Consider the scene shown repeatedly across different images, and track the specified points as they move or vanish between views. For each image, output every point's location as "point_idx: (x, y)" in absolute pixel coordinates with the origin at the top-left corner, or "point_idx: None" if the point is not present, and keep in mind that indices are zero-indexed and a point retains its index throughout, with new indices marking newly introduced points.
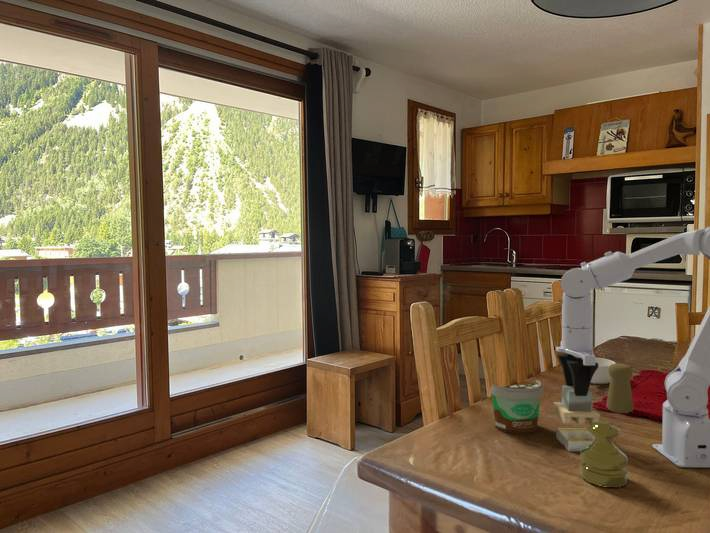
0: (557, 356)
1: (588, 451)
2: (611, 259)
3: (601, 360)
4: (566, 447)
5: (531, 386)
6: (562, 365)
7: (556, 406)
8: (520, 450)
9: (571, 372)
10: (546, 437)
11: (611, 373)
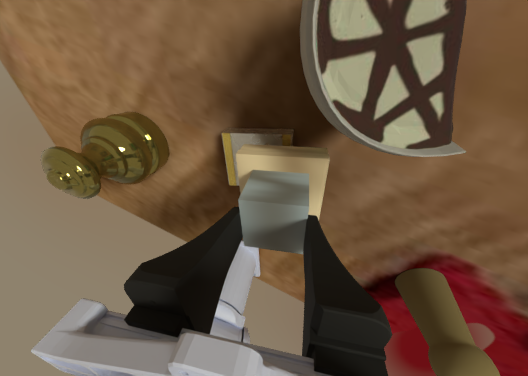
0: (359, 308)
1: (92, 131)
2: None
3: None
4: (235, 128)
5: (409, 108)
6: (320, 270)
7: (299, 155)
8: (217, 17)
9: (199, 250)
10: (295, 107)
11: (462, 351)
